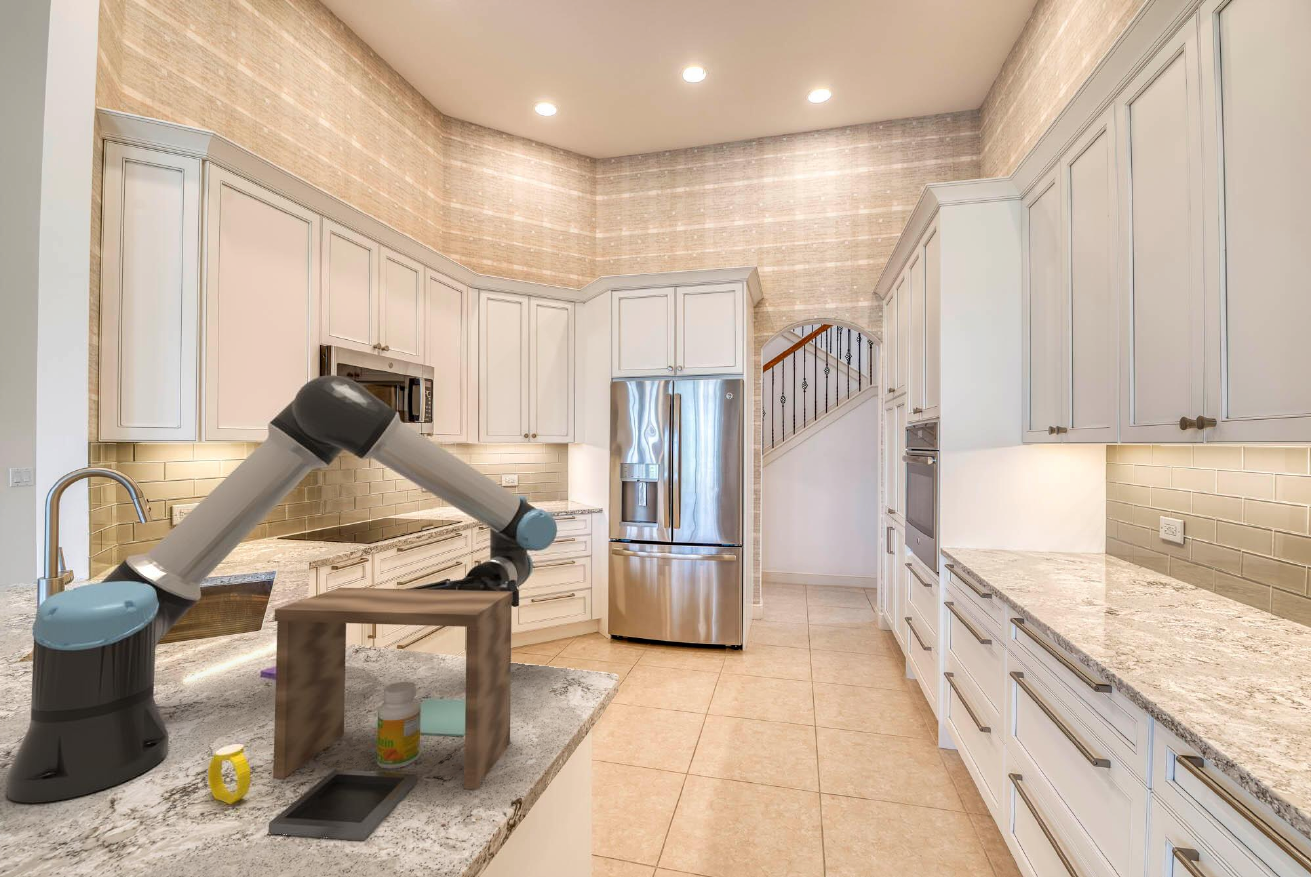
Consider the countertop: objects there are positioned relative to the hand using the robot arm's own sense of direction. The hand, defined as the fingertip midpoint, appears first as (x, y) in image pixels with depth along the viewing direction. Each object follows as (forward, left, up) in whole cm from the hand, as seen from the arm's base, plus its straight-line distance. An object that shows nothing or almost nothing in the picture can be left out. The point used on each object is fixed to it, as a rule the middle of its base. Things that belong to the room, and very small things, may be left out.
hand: (438, 609), depth 89 cm
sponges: (-40, -3, -18) cm, 44 cm away
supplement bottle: (+5, -9, -18) cm, 21 cm away
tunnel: (+5, -9, -18) cm, 20 cm away
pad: (-2, +2, -18) cm, 18 cm away
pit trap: (+10, -18, -18) cm, 27 cm away
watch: (-3, -26, -18) cm, 32 cm away
